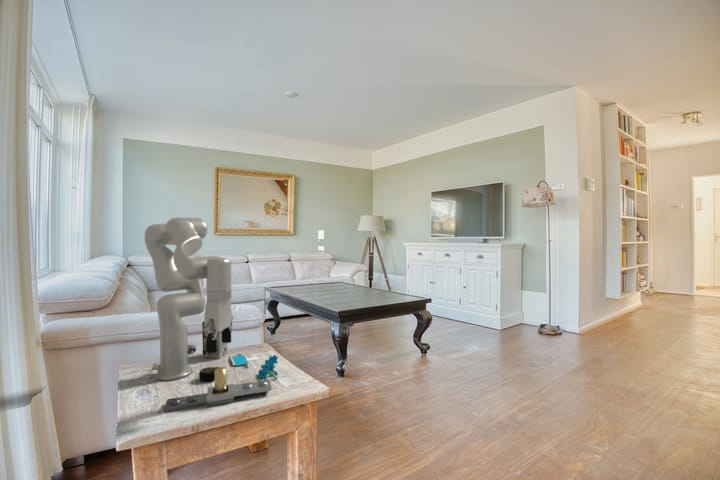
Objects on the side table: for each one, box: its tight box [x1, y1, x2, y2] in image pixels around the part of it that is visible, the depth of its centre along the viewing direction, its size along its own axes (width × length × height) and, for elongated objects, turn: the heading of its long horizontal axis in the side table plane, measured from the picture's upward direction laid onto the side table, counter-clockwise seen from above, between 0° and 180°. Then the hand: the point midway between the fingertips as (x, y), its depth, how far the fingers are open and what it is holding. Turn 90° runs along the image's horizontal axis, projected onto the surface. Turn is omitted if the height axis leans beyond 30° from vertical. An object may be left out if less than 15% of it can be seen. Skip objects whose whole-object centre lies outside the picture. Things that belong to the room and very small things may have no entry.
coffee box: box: [201, 321, 229, 360], centre depth 158 cm, size 9×6×16 cm
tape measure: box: [198, 366, 219, 382], centre depth 132 cm, size 7×7×4 cm
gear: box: [257, 354, 279, 380], centre depth 133 cm, size 11×6×10 cm
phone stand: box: [229, 353, 260, 369], centre depth 151 cm, size 20×12×2 cm, turn 28°
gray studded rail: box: [163, 379, 272, 413], centre depth 114 cm, size 32×8×4 cm, turn 110°
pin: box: [214, 366, 228, 394], centre depth 114 cm, size 4×4×10 cm
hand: (219, 347), depth 115 cm, fingers open, 9 cm apart
